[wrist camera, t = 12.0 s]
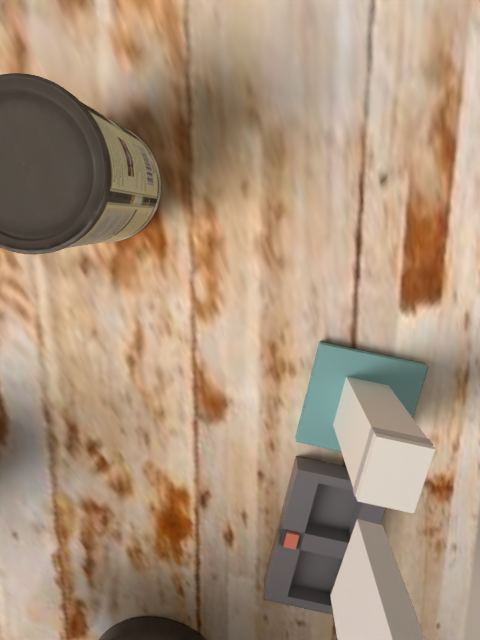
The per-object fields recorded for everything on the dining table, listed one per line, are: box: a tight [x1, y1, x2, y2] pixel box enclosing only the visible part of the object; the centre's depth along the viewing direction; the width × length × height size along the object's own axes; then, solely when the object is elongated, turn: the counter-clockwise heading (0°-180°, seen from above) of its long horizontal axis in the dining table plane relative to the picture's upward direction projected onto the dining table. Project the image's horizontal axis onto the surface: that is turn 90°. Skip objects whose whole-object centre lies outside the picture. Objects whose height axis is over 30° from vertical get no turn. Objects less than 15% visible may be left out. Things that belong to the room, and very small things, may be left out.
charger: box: [333, 377, 435, 513], centre depth 37 cm, size 5×4×12 cm
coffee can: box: [0, 73, 162, 254], centre depth 34 cm, size 10×10×14 cm
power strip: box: [264, 456, 386, 615], centre depth 45 cm, size 15×9×3 cm, turn 169°
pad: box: [296, 341, 428, 451], centre depth 43 cm, size 10×10×1 cm
